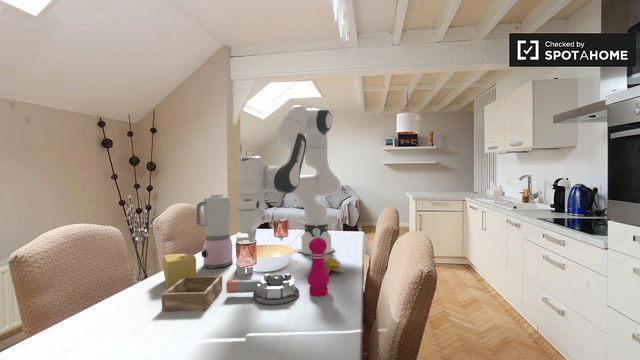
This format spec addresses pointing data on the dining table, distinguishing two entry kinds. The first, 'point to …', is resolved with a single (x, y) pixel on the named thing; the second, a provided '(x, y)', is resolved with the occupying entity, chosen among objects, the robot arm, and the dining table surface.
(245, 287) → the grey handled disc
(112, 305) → the dining table surface
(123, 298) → the dining table surface
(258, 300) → the domed metal lid
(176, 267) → the cheese
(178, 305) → the square wooden frame
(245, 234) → the skincare box
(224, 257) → the blender
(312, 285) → the pepper mill
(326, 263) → the decorative flower
